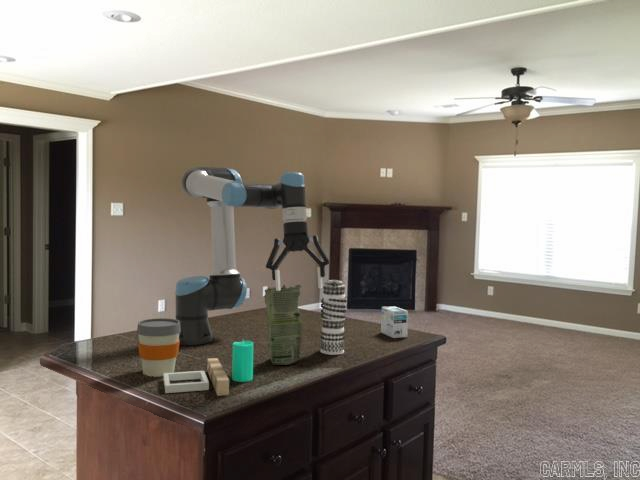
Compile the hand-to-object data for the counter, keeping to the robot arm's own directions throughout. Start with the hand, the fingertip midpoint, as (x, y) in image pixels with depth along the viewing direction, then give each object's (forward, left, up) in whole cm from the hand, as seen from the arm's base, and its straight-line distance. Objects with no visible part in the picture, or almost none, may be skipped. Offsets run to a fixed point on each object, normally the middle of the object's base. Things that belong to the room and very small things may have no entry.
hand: (299, 289), depth 173 cm
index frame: (+10, -35, -25) cm, 44 cm away
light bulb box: (-34, +50, -25) cm, 66 cm away
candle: (+8, -19, -25) cm, 32 cm away
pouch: (-7, -3, -25) cm, 26 cm away
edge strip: (+10, -26, -25) cm, 37 cm away
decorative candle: (-15, +17, -25) cm, 34 cm away
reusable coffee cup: (-4, -42, -25) cm, 49 cm away
